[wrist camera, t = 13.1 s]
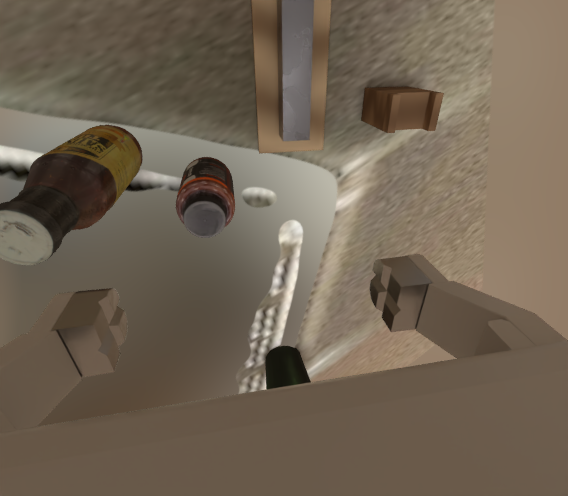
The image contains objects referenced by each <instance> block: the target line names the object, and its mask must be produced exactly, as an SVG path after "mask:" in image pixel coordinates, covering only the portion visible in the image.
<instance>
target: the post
mask: <svg viewBox="0 0 568 496" xmlns="http://www.w3.org/2000/svg"><path fill="white" fill-rule="evenodd" d="M443 94H444V93H440V92H435V91H430V90H424V89H419V88H413V87H375V88H365V93H364V102H363V111H362V120H361V121H364V122H366V123H368V124H370V125H372V126H374V127H376V128H378V129H380V130H382V131H384V132H386V133H395V130H405V129H424V130H427V131H435V129H436V125H437V120H438V116H439V112H440V107H441V103H442V99H443Z"/></svg>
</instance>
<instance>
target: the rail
mask: <svg viewBox="0 0 568 496" xmlns="http://www.w3.org/2000/svg"><path fill="white" fill-rule="evenodd" d="M313 17H314V0H277V44H278V104H279V136H280V138H281V139H282V140H283V141H300V140H310V110H311V79H312V48H313Z"/></svg>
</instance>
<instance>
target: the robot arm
mask: <svg viewBox="0 0 568 496" xmlns="http://www.w3.org/2000/svg"><path fill="white" fill-rule="evenodd" d="M373 272H374V273H375V274H376V275H375V277H374V278H373V279H372V280H371V283H370V295H371V299H372V302H373V304H374V306H375V307H376V308H377V309H379V310H380V311H382V312H383V313H382V319H383V320H384V322H385V323H386V325H387V327H388V328H389V330H390V331H391V332H396V331H404V330H413V329H416V331H418V332H419V333H421V334H422V335H423V336H425V337H426V338H428V339H429V340H431V341H432V342H434V343H435V344H437V345H438V346H440V347H441V348H442V349H444V350H445V351H447V352H448V353H450V354H451V355H453V356H454V357H456V358H457V359H453V360H447V361H440V362H434V363H428V364H422V365H416V366H411V367H404V368H398V369H391V370H385V371H379V372H373V373H366V374H360V375H354V376H348V377H341V378H335V379H329V380H323V381H316V382H310V383H304V384H298V385H292V386H285V387H279V388H273V389H267V390H261V391H255V392H249V393H242V394H236V395H230V396H224V397H218V398H212V399H205V400H200V401H194V402H187V403H181V404H175V405H168V406H162V407H156V408H150V409H144V410H138V411H131V412H126V413H119V414H113V415H107V416H100V417H95V418H88V419H82V420H76V421H70V422H63V423H57V424H51V425H45V426H39V427H37V425H38V424H39V423H40V422H41V421H42V420H43V419H44V418H45V417H46V416H47V415H48V414H49V413H50V412H51V411H52V410H53V409H54V408H55V407H56V406H57V405H58V404H59V402H60V401H61V400H62V399H63V398H64V397H65V396H66V395H67V394H68V393H69V392H70V391H71V390H72V389H73V388H74V387H75V386H76V385H77V384H78V383H79V382H80V381H81V380H82V377H88V376H93V375H99V374H105V373H111V372H114V371H115V368H116V365H117V362H118V359H119V356H120V354H121V353H120V350H119V348H118V347H119V346H120V345H121V344H122V343H123V342H124V341H125V338H126V335H127V318H126V314H125V311H124V310H123V309H121V308H120V307H118V306H117V305H118V303H119V300H120V298H119V295H118V293H117V291H116V290H115V289H113V288H110V289H99V290H88V291H78V292H67V293H59V294H57V295H55V296H54V297H53V298H52V300H51V301H50V303H49V304H48V306H47V307H46V308H45V310H44V311H43V313H42V314H41V316H40V317H39V319H38V320H37V321H36V323H35V324H34V326H33V327H32V329H31V330H30V332H29V333H28V334H23V335H20V336H18V337H17V338H15V339H14V340H12V341H11V342H9V343H8V344H6V345H4V346H3V347H1V348H0V496H568V340H567V339H565V338H564V337H563V336H562V335H561V334H559V333H558V332H557V331H555V330H554V329H553V328H552V327H551V326H549V325H548V324H547V323H546V322H545V321H543V320H542V319H541V318H540V317H539V316H537V315H536V314H535V313H532V312H530V311H527V310H525V309H523V308H520V307H517V306H515V305H512V304H510V303H507V302H505V301H502V300H500V299H497V298H495V297H492V296H490V295H487V294H485V293H482V292H480V291H477V290H475V289H472V288H470V287H467V286H465V285H462V284H460V283H457V282H455V281H448V280H447V279H446V278H445V277H444V276H443V275H442V274H441V273H440V272H439V271H438V270H437V269H436V268H435V267H434V266H433V265H432V264H431V263H430V262H429V261H428V260H427V259H426V258H425V257H424V256H423V255H420V254H414V255H407V256H402V257H394V258H386V259H377V260H375V262H374V264H373Z"/></svg>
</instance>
